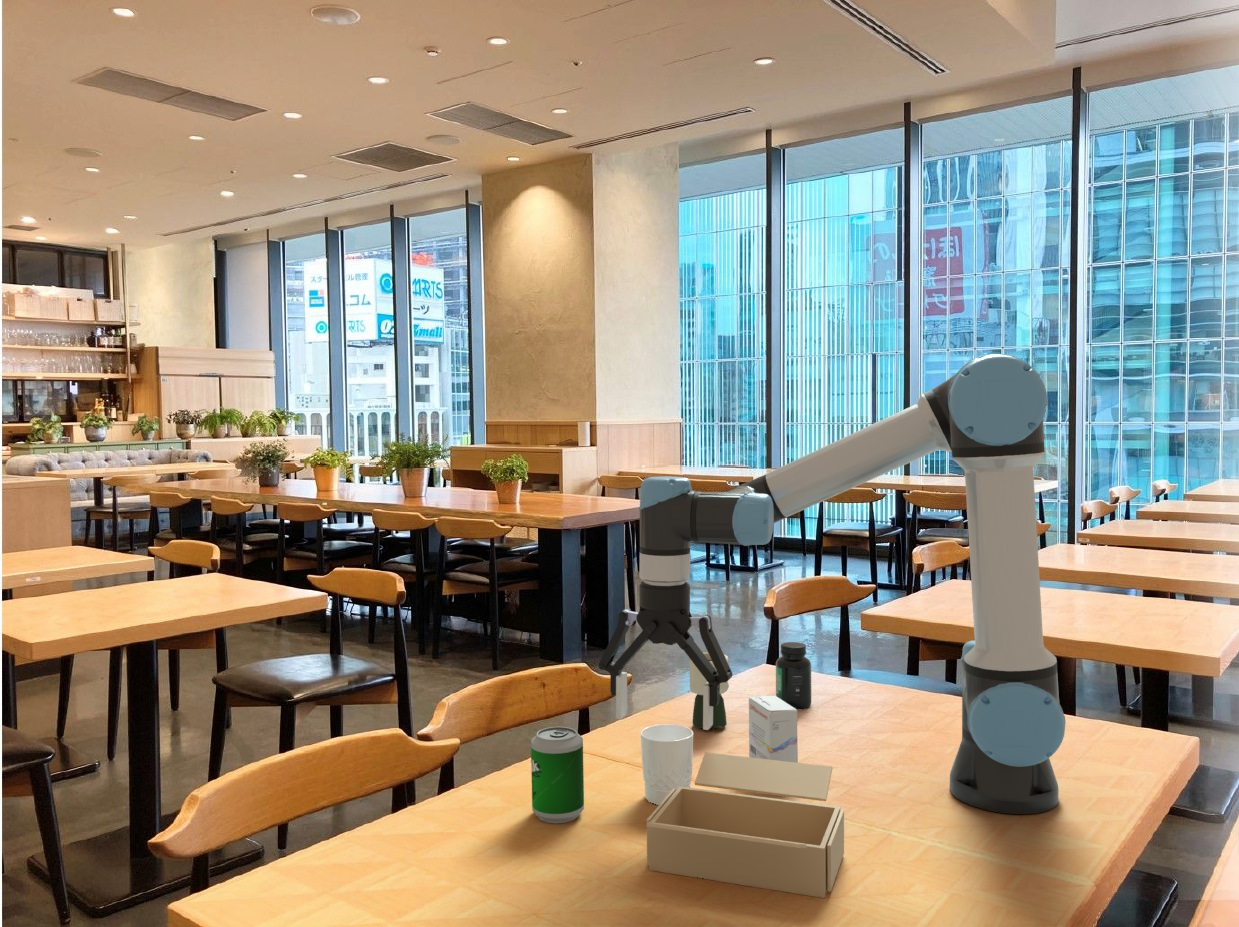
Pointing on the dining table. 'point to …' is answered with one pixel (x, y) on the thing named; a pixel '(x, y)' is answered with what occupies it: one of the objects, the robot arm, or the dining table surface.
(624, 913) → the dining table surface
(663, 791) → the white cup
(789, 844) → the flap near
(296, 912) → the dining table surface
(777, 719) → the ink box
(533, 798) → the soda can
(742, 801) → the carton
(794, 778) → the flap far
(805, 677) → the supplement bottle
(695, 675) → the character mug
